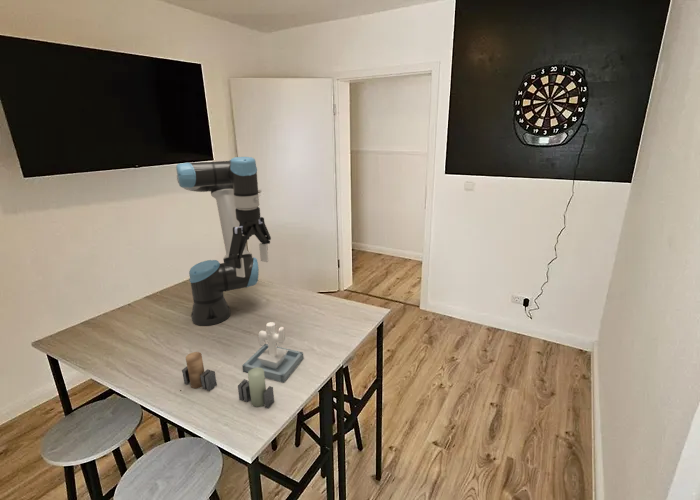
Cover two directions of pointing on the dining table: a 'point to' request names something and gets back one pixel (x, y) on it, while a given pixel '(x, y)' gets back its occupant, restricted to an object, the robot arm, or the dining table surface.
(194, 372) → the brown rounded cylinder
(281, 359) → the figurine
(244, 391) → the clip posts
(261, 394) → the green dowel
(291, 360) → the tray
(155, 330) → the dining table surface
